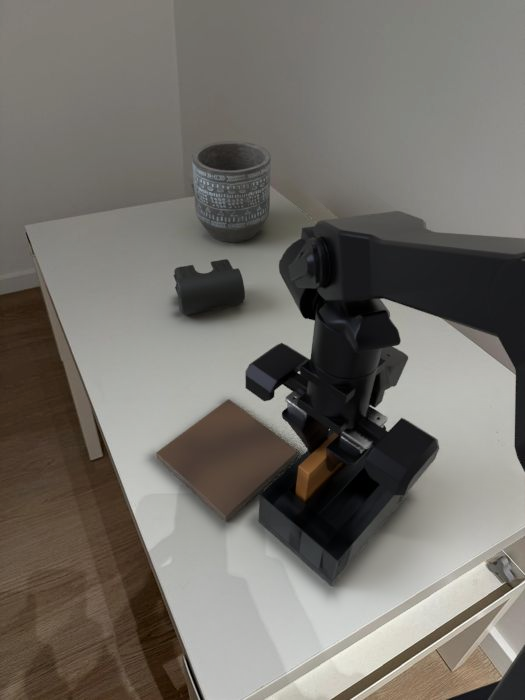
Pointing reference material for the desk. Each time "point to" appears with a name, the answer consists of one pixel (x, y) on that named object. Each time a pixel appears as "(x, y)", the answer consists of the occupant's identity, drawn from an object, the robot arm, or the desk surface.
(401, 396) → the desk surface
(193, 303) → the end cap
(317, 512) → the toaster
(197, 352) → the desk surface
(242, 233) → the planter
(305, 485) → the toast
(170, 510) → the desk surface
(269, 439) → the board
